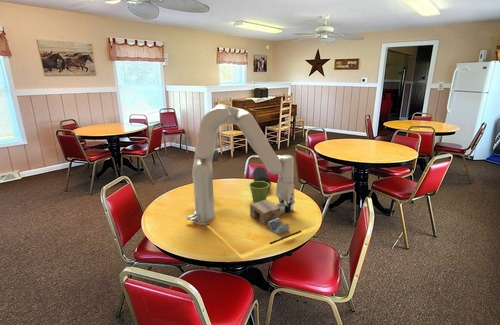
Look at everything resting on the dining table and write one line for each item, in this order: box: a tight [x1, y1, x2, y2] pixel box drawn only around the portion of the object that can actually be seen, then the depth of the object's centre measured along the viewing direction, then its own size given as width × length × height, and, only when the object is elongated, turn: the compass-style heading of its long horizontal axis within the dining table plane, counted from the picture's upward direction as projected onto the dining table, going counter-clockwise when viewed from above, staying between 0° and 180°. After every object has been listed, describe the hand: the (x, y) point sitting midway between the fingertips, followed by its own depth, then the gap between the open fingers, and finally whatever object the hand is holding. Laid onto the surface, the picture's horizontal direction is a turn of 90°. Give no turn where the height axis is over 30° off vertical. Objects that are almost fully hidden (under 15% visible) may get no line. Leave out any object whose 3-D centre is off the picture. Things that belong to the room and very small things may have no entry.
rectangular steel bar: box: [275, 201, 295, 215], centre depth 152 cm, size 18×4×4 cm, turn 123°
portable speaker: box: [252, 166, 272, 190], centre depth 193 cm, size 26×10×10 cm, turn 3°
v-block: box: [267, 218, 302, 245], centre depth 136 cm, size 18×12×5 cm, turn 124°
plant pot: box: [248, 181, 271, 203], centre depth 167 cm, size 12×12×11 cm
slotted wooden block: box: [249, 199, 281, 226], centre depth 147 cm, size 10×12×8 cm
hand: (285, 210), depth 155 cm, fingers closed on rectangular steel bar, 4 cm apart
